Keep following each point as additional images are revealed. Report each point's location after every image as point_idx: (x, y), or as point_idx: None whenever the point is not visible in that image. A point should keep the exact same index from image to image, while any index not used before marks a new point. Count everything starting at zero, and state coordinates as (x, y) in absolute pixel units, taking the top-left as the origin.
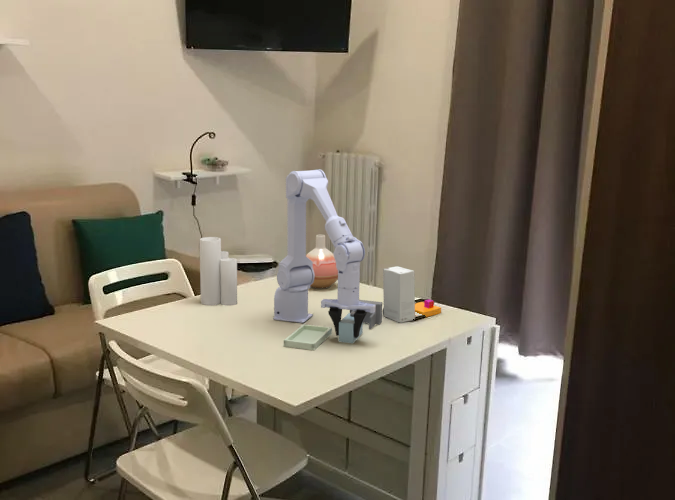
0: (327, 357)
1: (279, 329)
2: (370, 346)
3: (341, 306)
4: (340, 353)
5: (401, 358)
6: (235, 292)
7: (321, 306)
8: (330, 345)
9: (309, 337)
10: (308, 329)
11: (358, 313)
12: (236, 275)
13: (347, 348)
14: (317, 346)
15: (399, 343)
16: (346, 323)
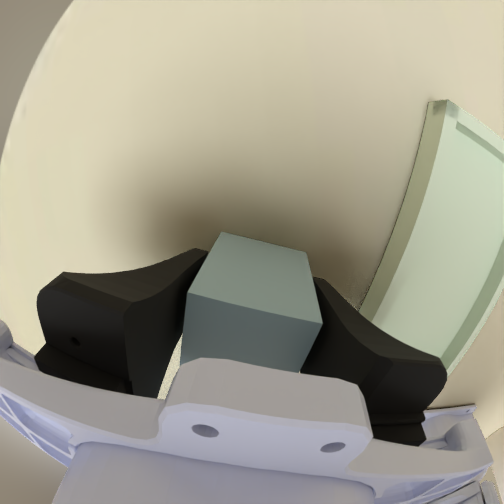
0: (345, 3)
1: (493, 348)
2: (127, 197)
3: (349, 426)
4: (281, 55)
5: (23, 89)
6: (495, 453)
7: (477, 425)
8: (351, 184)
9: (446, 274)
10: None
11: (83, 334)
12: (501, 479)
13: (246, 141)
14: (419, 152)
15: (44, 256)
16: (253, 308)
